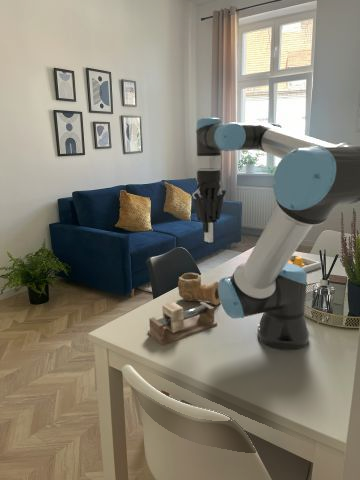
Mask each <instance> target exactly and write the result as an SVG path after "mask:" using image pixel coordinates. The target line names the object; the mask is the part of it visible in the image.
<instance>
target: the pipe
mask: <svg viewBox="0 0 360 480" xmlns="http://www.w3.org/2000/svg"><path fill="white" fill-rule="evenodd" d="M201 278H202V276H201V275H200V274H199V273H195V272H186V273H184V274H182V275H181V276H179V277H178V282H177V287H178V295H179V297H181V298H182V299H183V300H185V301H187V302H197V301H200V302H209V303H211V304H212V305H215V306H217V305H219V304H221V301H220V298H219V293H218V284H219V282H218V281H215V282H213V283H212V284H210V285H206V284H202V279H201Z"/></svg>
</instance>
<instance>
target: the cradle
mask: <svg viewBox="0 0 360 480" xmlns="http://www.w3.org/2000/svg"><path fill="white" fill-rule="evenodd" d="M202 305H206V307H207V312H206V313H203V314H200V315H197V316H194V317H191V318H188V319H185V320H184V329H183V330H180V331H177V332H175V333H172V332H171V331H170V330H168V329H167V328H166V327H164V325H163V324H162V323H161V322H159V321H158V319H156V318H155V317H151V318H149V329H148V330H147V333H148V334H149V336H151V337H152V338H153V339H154V340H156V341H157V342H158V343H159V344H160V345H162V346H164V345H167V344H170V343H172V342H175V341H177V340H180V339H183V338H186V337H188V336H191V335H194V334H196V333H199V332H202V331H204V330H207V329H210V328H212V327H215V326H218V322H216V321H215V307H214V306H211V305H210V304H208V303H206V301H200V302H199V306H202Z"/></svg>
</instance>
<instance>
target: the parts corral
mask: <svg viewBox="0 0 360 480" xmlns="http://www.w3.org/2000/svg"><path fill="white" fill-rule="evenodd" d="M296 257H301V258H302V263H303V264H305V266H304V267H302V268H303V269H304V270H305V271H306V273H308V272H312V271H314V270H318V269H320V268H321V267H322V262H321V261H317V260H314V259H311V258H308V257H304V256H300V255H297V254H293V255H292V256H291V258H290V261H291V262H294V260H295V258H296Z"/></svg>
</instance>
